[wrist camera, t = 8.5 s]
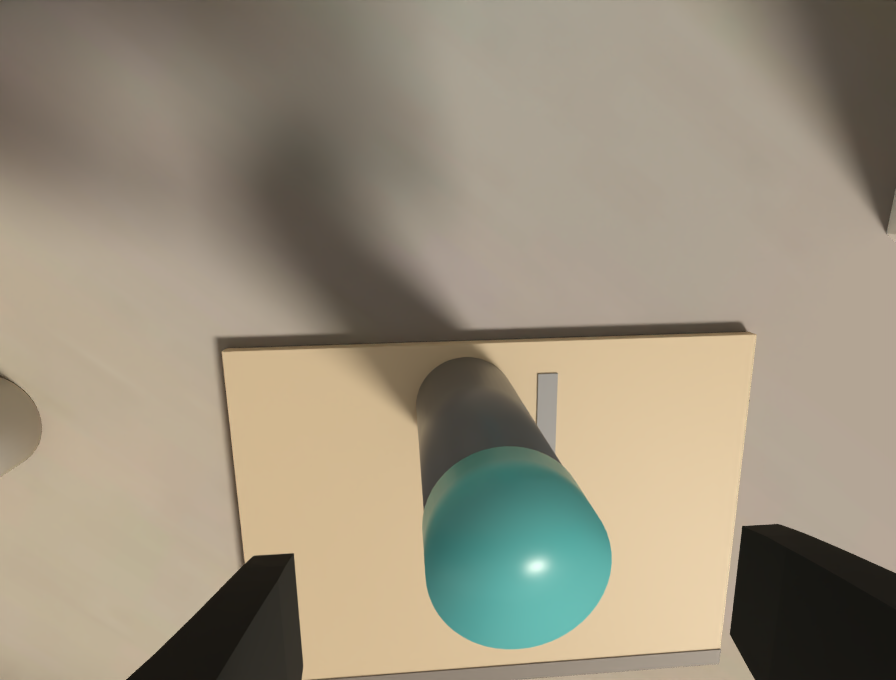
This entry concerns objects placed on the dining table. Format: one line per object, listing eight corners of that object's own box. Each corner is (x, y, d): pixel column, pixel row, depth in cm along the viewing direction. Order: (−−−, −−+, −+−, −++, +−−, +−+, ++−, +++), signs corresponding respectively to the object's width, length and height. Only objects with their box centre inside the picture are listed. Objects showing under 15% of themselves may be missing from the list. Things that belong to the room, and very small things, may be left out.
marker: (515, 450, 17) (607, 642, 10) (415, 454, 17) (427, 655, 9) (516, 353, 17) (616, 476, 9) (412, 357, 16) (422, 487, 9)
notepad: (712, 654, 20) (719, 664, 20) (262, 689, 19) (259, 700, 19) (748, 331, 18) (757, 334, 17) (226, 348, 16) (221, 352, 16)
